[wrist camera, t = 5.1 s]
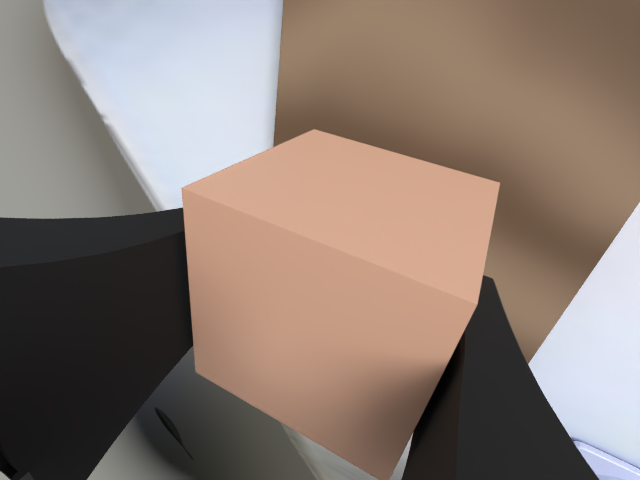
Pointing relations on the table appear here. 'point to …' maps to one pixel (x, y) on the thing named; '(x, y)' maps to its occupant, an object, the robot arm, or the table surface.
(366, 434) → the terracotta block
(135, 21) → the table surface
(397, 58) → the walnut base
